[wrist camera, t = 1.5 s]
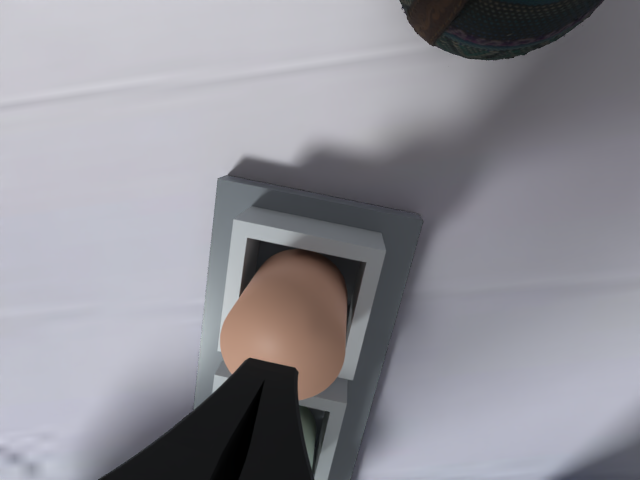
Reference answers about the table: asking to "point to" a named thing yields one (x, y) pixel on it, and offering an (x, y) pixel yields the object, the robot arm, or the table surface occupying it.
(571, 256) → the table surface
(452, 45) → the mate gourd
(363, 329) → the button panel
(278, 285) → the terracotta button
